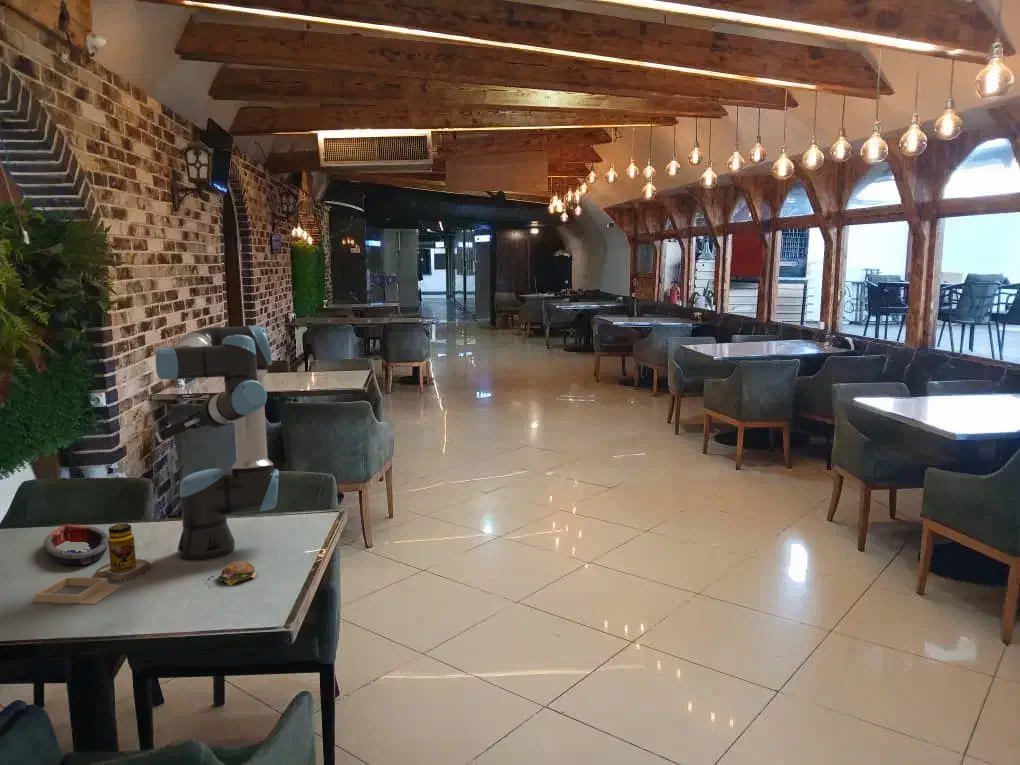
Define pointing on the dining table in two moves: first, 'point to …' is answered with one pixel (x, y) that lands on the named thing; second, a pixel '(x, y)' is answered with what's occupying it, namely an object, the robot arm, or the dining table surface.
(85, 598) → the carton tray
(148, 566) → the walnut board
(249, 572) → the hamburger
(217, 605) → the dining table surface
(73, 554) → the dish
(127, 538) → the condiment
